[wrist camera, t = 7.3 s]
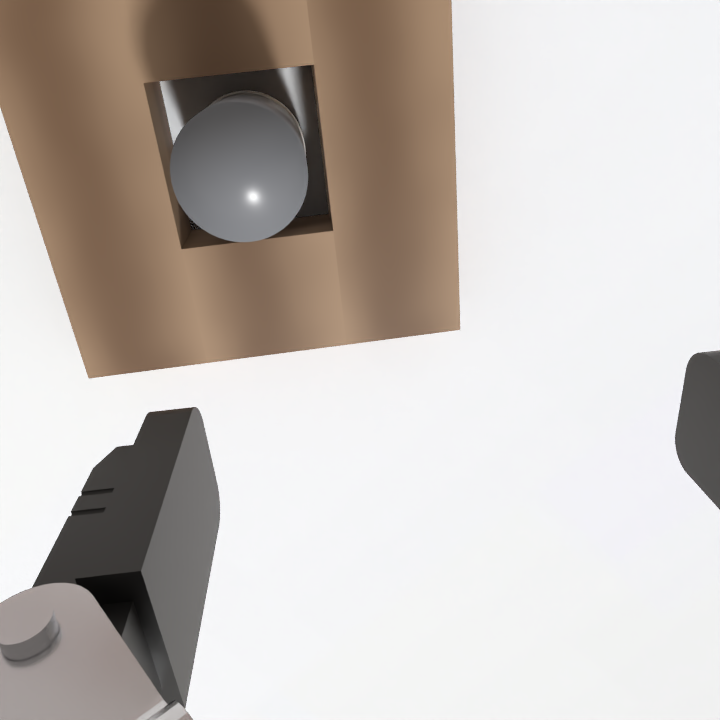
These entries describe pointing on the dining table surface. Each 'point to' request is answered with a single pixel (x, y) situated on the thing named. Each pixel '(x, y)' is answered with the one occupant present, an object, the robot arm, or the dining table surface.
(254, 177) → the connector plug
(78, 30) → the end holder
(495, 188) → the dining table surface
